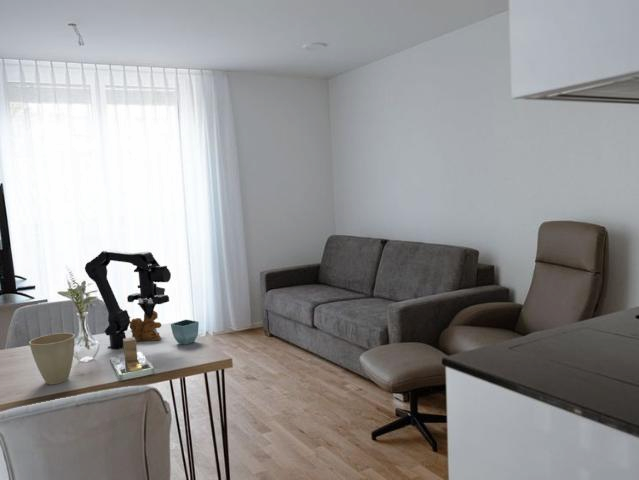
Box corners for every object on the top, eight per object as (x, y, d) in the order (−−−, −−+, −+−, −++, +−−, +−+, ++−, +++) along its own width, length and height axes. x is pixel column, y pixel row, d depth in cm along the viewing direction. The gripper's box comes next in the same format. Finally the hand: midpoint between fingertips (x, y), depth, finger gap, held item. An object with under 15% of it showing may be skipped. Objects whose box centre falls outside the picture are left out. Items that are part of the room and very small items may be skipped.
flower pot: (184, 347, 237) (183, 326, 236) (171, 344, 242) (169, 324, 241) (200, 341, 244) (199, 321, 243) (187, 338, 249) (186, 319, 248)
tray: (116, 376, 205) (116, 368, 204) (150, 369, 210) (149, 361, 210) (120, 383, 197) (119, 375, 197) (154, 376, 202) (154, 368, 202)
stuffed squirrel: (162, 340, 249) (159, 311, 248) (129, 344, 246) (126, 314, 245) (163, 334, 259) (160, 306, 257) (131, 338, 256) (128, 310, 254)
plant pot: (85, 372, 211) (81, 331, 209) (69, 387, 196) (64, 343, 194) (45, 375, 210) (40, 333, 209) (26, 389, 196) (21, 345, 194)
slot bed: (110, 362, 221) (109, 357, 221) (141, 356, 226) (141, 351, 226) (116, 376, 205) (116, 370, 204) (150, 369, 210) (149, 363, 210)
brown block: (125, 367, 211) (122, 338, 210) (136, 364, 213) (133, 336, 212) (128, 373, 204) (126, 343, 203) (140, 370, 206) (137, 341, 205)
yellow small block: (128, 373, 204) (128, 365, 204) (140, 371, 206) (139, 363, 206) (131, 377, 200) (130, 369, 200) (142, 375, 202) (141, 367, 201)
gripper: (176, 279, 237) (179, 315, 239) (144, 277, 246) (147, 312, 247) (158, 284, 227) (161, 321, 229) (124, 282, 236) (128, 318, 238)
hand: (149, 318), depth 236 cm, fingers closed
